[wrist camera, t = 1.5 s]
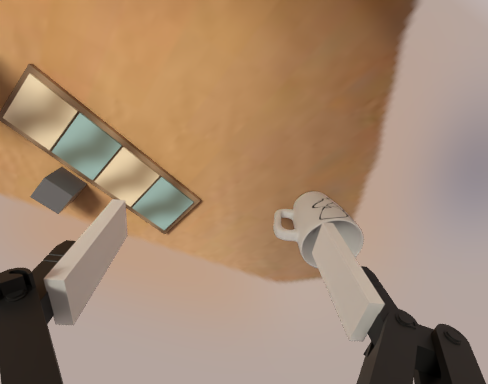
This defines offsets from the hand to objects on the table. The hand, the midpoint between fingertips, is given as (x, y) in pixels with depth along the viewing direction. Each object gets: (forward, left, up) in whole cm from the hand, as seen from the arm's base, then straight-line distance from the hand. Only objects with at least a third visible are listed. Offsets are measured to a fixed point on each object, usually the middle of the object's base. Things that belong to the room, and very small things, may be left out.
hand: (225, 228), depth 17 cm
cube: (-12, -22, -22) cm, 33 cm away
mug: (+17, 0, -22) cm, 27 cm away
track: (-10, -15, -22) cm, 28 cm away
